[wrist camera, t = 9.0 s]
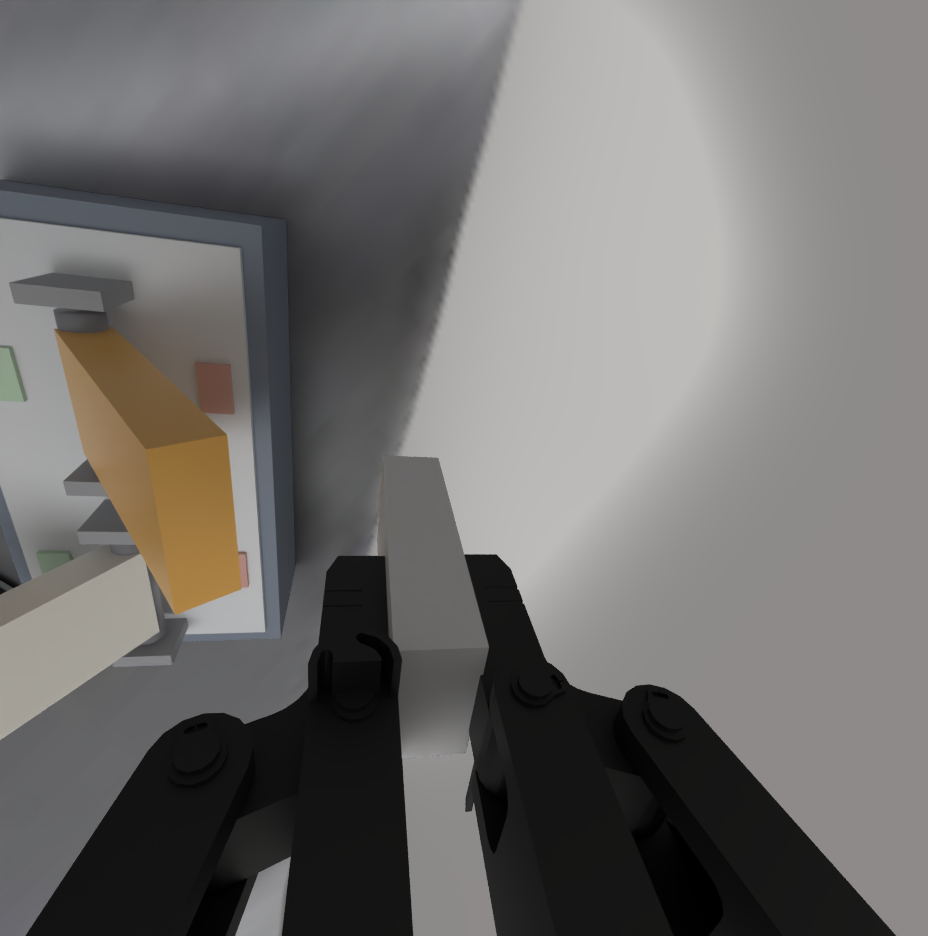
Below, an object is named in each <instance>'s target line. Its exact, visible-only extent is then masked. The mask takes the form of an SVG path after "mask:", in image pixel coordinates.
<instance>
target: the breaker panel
mask: <svg viewBox="0 0 928 936" xmlns="http://www.w3.org/2000/svg"><path fill="white" fill-rule="evenodd" d="M56 308H67V309H77V310H88V311H98V312H105V311H106V313H107V318H108V323H109V327H113V328H114V329H115V330H116V331H117V332H118V333H120V334H121V335H122V336H123V337H124V338H125V339H126V340H127V341H128V342H129V343H130V344H131V345H132V346H133V347H134V348H136V349H137V350H138V351H139V352H140V353H141V354H142V355H143V356H144V357H145V358H146V359H147V360H148V361H149V362H150V363H151V364H153V365H154V366H155V367H156V368H157V369H158V370H159V371H160V372H161V373H162V374H163V375H164V376H165V377H166V378H167V379H168V380H170V381H171V382H172V383H173V384H174V385H175V386H176V387H177V388H178V389H179V390H180V391H181V392H182V393H183V394H184V395H186V396H187V397H188V398H189V399H190V400H191V401H192V402H193V403H194V404H195V405H196V406H197V407H198V408H199V409H200V410H201V411H203V412H204V413H205V414H206V415H207V416H208V417H209V418H210V419H211V420H212V421H213V422H214V423H215V424H216V425H217V426H219V427H220V428H221V429H222V430H223V431H224V432H225V433H226V434H227V436H228V447H229V458H230V468H231V479H232V490H233V501H234V512H235V523H236V534H237V544H238V555H239V566H240V577H241V588H242V589H241V590H238V591H236V592H233V593H231V594H228V595H225V596H223V597H220V598H218V599H215V600H213V601H210V602H207V603H205V604H202V605H200V606H197V607H195V608H192V609H189V610H187V611H184V612H182V613H179V614H177V615H175V614H174V612H173V610H172V608H171V607H170V605H169V603H168V601H167V600H166V598H165V596H164V594H163V593H162V591H161V589H160V587H159V590H160V595H161V600H162V606H163V611H164V616H165V621H166V626H167V631H166V633H165V635H164V636H163V637H162V638H161V639H159V640H158V641H156V642H154V643H151V644H146V645H139V646H138V647H136V648H135V649H133V650H132V651H130V652H129V653H127V654H126V655H124V656H123V657H121V658H120V659H118V660H117V661H116V662H114V663H113V667H127V666H152V665H172V664H173V662H174V659H175V657H176V655H177V652H178V650H179V648H180V645H181V643H182V641H212V640H244V639H277V638H281V635H282V630H283V625H284V620H285V615H286V610H287V605H288V600H289V596H290V591H291V586H292V581H293V576H294V571H295V531H294V493H293V456H292V418H291V380H290V342H289V305H288V267H287V229H286V220H285V219H278V218H271V217H263V216H256V215H249V214H242V213H235V212H228V211H221V210H213V209H206V208H199V207H192V206H185V205H178V204H171V203H163V202H156V201H149V200H142V199H135V198H128V197H121V196H114V195H106V194H99V193H92V192H85V191H78V190H71V189H64V188H56V187H49V186H42V185H35V184H28V183H21V182H14V181H6V180H0V526H1V529H2V531H3V534H4V537H5V540H6V543H7V546H8V548H9V551H10V554H11V557H12V560H13V562H14V565H15V568H16V571H17V574H18V576H19V579H20V582H21V584H23V583H26V582H28V581H30V580H32V579H34V578H36V577H38V576H40V575H42V574H44V573H46V572H49V571H51V570H53V569H55V568H57V567H59V566H61V565H63V564H65V563H67V562H69V561H72V560H74V559H76V558H78V557H80V556H82V555H84V554H86V553H88V552H90V551H92V550H94V549H97V548H99V547H101V546H103V545H135V543H134V541H133V539H132V538H131V536H130V534H129V532H128V530H127V529H126V527H125V525H124V523H123V522H122V520H121V518H120V516H119V514H118V513H117V511H116V509H115V507H114V506H113V504H112V502H111V500H110V498H109V497H108V495H107V493H106V491H105V490H104V488H103V486H102V484H101V483H100V481H99V479H98V477H97V475H96V474H95V472H94V470H93V468H92V467H91V466H90V463H89V461H88V459H87V458H86V456H85V454H84V452H83V448H82V443H81V439H80V435H79V431H78V427H77V423H76V419H75V415H74V410H73V406H72V402H71V398H70V394H69V390H68V386H67V382H66V377H65V373H64V369H63V365H62V361H61V357H60V353H59V349H58V344H57V340H56V336H55V332H54V329H57V325H56V320H55V316H54V312H53V310H54V309H56Z"/></svg>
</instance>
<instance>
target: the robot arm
mask: <svg viewBox="0 0 928 936" xmlns="http://www.w3.org/2000/svg"><path fill="white" fill-rule="evenodd" d="M522 601H523V600H522V598H521V595H520V592H519V590H517V584H516V582H515V579H514V577H513V574H512V571H511V569H510V568H509V567H508V566H507V565H506V564H505V563H504V562H503V561H502V560H501V559H500V558H499V557H498V556H497V555H464V553H463V549H462V545H461V541H460V537H459V534H458V530H457V527H456V522H455V519H454V515H453V511H452V508H451V504H450V500H449V496H448V493H447V489H446V485H445V481H444V478H443V474H442V470H441V467H440V463H439V459H438V458H427V457H404V456H383V461H382V477H381V492H380V508H379V523H378V556H338V557H337V558H336V560H335V561H334V563H333V564H332V565H331V567H330V568H329V569H328V571H327V573H326V582H325V592H324V600H323V610H322V617H321V626H320V635H319V644H318V645H317V646H316V647H315V648H314V649H313V652H312V655H311V657H310V660H309V663H308V689H307V690H306V691H305V692H304V693H303V695H302V696H301V697H300V698H299V699H298V700H297V701H295V702H294V703H292V704H291V705H290V706H288V707H287V708H285V709H283V710H281V711H279V712H277V713H274V714H272V715H269V716H267V717H264V718H261V719H258V720H255V721H253V722H250V723H247V724H244V723H243V722H242V721H241V720H240V719H239V718H236V717H233V716H230V715H228V714H225V713H205V714H201V715H198V716H195V717H192V718H189V719H186V720H183V721H182V722H180V723H179V724H177V725H176V726H174V727H173V728H171V729H170V730H168V731H166V732H165V733H164V734H163V735H162V736H161V737H160V738H159V739H158V740H157V741H156V742H155V744H154V745H153V746H152V747H151V748H150V749H149V750H148V752H147V753H146V755H145V756H144V758H143V759H142V761H141V762H140V764H139V765H138V767H137V768H136V770H135V771H134V773H133V774H132V776H131V777H130V779H129V780H128V782H127V783H126V785H125V786H124V788H123V789H122V791H121V792H120V794H119V795H118V797H117V798H116V800H115V801H114V803H113V804H112V806H111V807H110V809H109V810H108V812H107V813H106V815H105V817H104V818H103V820H102V821H101V823H100V824H99V826H98V827H97V829H96V830H95V832H94V833H93V835H92V836H91V838H90V839H89V841H88V842H87V844H86V845H85V847H84V848H83V850H82V851H81V853H80V854H79V856H78V857H77V859H76V860H75V862H74V863H73V865H72V866H71V868H70V869H69V871H68V872H67V874H66V875H65V877H64V878H63V880H62V881H61V883H60V884H59V886H58V887H57V889H56V890H55V892H54V893H53V895H52V897H51V898H50V900H49V901H48V903H47V904H46V906H45V907H44V909H43V910H42V912H41V913H40V915H39V916H38V918H37V919H36V921H35V922H34V924H33V925H32V927H31V928H30V930H29V931H28V933H27V934H26V936H235V934H236V932H237V929H238V926H239V923H240V921H241V918H242V915H243V913H244V910H245V907H246V905H247V902H248V899H249V896H250V894H251V891H252V888H253V886H254V883H255V880H256V878H257V875H258V872H260V871H262V870H264V869H266V868H268V867H270V866H272V865H274V864H276V863H278V862H280V861H282V860H284V859H286V858H288V857H290V856H291V861H290V869H289V878H288V887H287V895H286V904H285V913H284V921H283V930H282V936H413V926H412V910H411V894H410V878H409V862H408V846H407V830H406V814H405V798H404V784H403V766H402V759H405V758H416V757H428V756H440V755H452V754H463V753H466V750H467V746H468V741H469V736H470V740H471V746H472V751H473V756H474V765H473V769H472V773H471V778H470V782H469V786H468V791H467V795H466V809H465V811H466V812H468V811H472V807H473V803H474V804H475V811H476V816H477V822H478V828H479V834H480V840H481V846H482V851H483V857H484V863H485V868H486V874H487V880H488V886H489V892H490V898H491V903H492V909H493V915H494V921H495V927H496V933H497V936H896V935H895V934H894V933H893V932H892V931H891V929H889V927H888V926H887V925H886V924H885V923H884V922H883V921H882V919H881V918H880V917H879V916H878V915H877V914H876V913H875V911H874V910H873V909H872V908H871V907H870V906H869V905H868V904H867V903H866V901H865V900H864V899H863V898H862V897H861V896H860V895H859V894H858V893H857V891H856V890H855V889H854V888H853V887H852V886H851V885H850V883H849V882H848V881H847V880H846V879H845V878H844V877H843V876H842V874H841V873H840V872H839V871H838V870H837V869H836V868H835V867H834V866H833V864H832V863H831V862H830V861H829V860H828V859H827V858H826V856H825V855H824V854H823V853H822V852H821V851H820V850H819V849H818V847H817V846H816V845H815V844H814V843H813V842H812V841H811V840H810V838H809V837H808V836H807V835H806V834H805V833H804V832H803V831H802V829H801V828H800V827H799V826H798V825H797V824H796V823H795V822H794V821H793V819H792V818H791V817H790V816H789V815H788V814H787V813H786V812H785V810H784V809H783V808H782V807H781V806H780V805H779V804H778V803H777V801H776V800H775V799H774V798H773V797H772V796H771V795H770V794H769V792H768V791H767V790H766V789H765V788H764V787H763V786H762V785H761V783H760V782H759V781H758V780H757V779H756V778H755V777H754V776H753V774H752V773H751V772H750V771H749V770H748V769H747V768H746V767H745V765H744V764H743V763H742V762H741V761H740V760H739V759H738V758H737V757H736V755H735V754H734V753H733V752H732V751H731V750H730V749H729V747H728V746H727V745H726V744H725V743H724V742H723V741H722V740H721V738H720V737H719V736H718V735H717V734H716V733H715V732H714V731H713V730H712V728H711V727H710V726H709V725H708V724H707V723H706V722H705V721H704V719H703V718H702V717H701V716H700V715H699V714H698V713H697V712H696V710H695V709H694V708H693V707H691V706H690V705H689V704H688V703H687V702H686V701H685V700H684V699H682V698H681V697H680V696H678V695H677V694H675V693H673V692H671V691H669V690H667V689H665V688H662V687H658V686H654V685H639V686H635V687H634V688H632V689H631V690H629V691H628V692H627V693H626V695H625V697H624V699H623V701H621V700H617V699H613V698H608V697H604V696H600V695H596V694H592V693H588V692H585V691H582V690H580V689H577V688H575V687H573V686H572V685H570V684H569V683H568V681H567V679H566V678H565V676H564V675H563V673H561V672H560V671H559V670H558V669H557V668H555V667H554V666H553V665H552V664H550V663H548V662H547V661H546V659H545V657H544V655H543V652H542V650H541V647H540V644H539V642H538V639H537V636H536V634H535V631H534V629H533V626H532V624H531V621H530V618H529V616H528V613H527V610H526V608H525V605H524V604H523V602H522Z"/></svg>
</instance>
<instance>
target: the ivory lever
mask: <svg viewBox="0 0 928 936" xmlns="http://www.w3.org/2000/svg"><path fill="white" fill-rule="evenodd" d="M166 631H167V626H166V621H165V616H164V611H163V606H162V600H161V595H160V590H159V585H158V584H157V582H156V580H155V578H154V577H153V575H152V573H151V571H150V569H149V568H148V566H147V564H146V562H145V561H144V559H143V557H142V555H141V553H140V552H139V550H138V548H137V546H136V545H103V546H101V547H99V548H97V549H94V550H92V551H90V552H88V553H86V554H84V555H82V556H80V557H78V558H76V559H74V560H72V561H69V562H67V563H65V564H63V565H61V566H59V567H57V568H55V569H53V570H51V571H49V572H46V573H44V574H42V575H40V576H38V577H36V578H34V579H32V580H30V581H28V582H26V583H23V584H21V585H19V586H17V587H15V588H13V589H11V590H9V591H7V592H5V593H3V594H0V740H1V739H3V738H4V737H6V736H7V735H9V734H10V733H11V732H13V731H14V730H16V729H17V728H19V727H20V726H22V725H23V724H25V723H26V722H28V721H29V720H31V719H32V718H33V717H35V716H36V715H38V714H39V713H41V712H42V711H44V710H45V709H47V708H48V707H50V706H51V705H52V704H54V703H55V702H57V701H58V700H60V699H61V698H63V697H64V696H66V695H67V694H69V693H70V692H72V691H73V690H74V689H76V688H77V687H79V686H80V685H82V684H83V683H85V682H86V681H88V680H89V679H91V678H92V677H94V676H95V675H96V674H98V673H99V672H101V671H102V670H104V669H105V668H107V667H108V666H110V665H111V664H113V663H114V662H116V661H117V660H118V659H120V658H121V657H123V656H124V655H126V654H127V653H129V652H130V651H132V650H133V649H135V648H136V647H138V646H139V645H146V644H151V643H154V642H156V641H158V640H159V639H161V638H162V637H163V636H164V635H165V633H166Z"/></svg>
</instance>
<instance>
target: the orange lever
mask: <svg viewBox="0 0 928 936" xmlns="http://www.w3.org/2000/svg"><path fill="white" fill-rule="evenodd" d="M53 312H54V316H55V320H56V325H57V329H54V332H55V336H56V340H57V344H58V349H59V353H60V357H61V361H62V365H63V369H64V373H65V377H66V382H67V386H68V390H69V394H70V398H71V402H72V406H73V410H74V415H75V419H76V423H77V427H78V431H79V435H80V439H81V443H82V448H83V452H84V454H85V456H86V458H87V459H88V461H89V463H90V466H91V467H92V468H93V470H94V472H95V474H96V475H97V477H98V479H99V481H100V483H101V484H102V486H103V488H104V490H105V491H106V493H107V495H108V497H109V498H110V500H111V502H112V504H113V506H114V507H115V509H116V511H117V513H118V514H119V516H120V518H121V520H122V522H123V523H124V525H125V527H126V529H127V530H128V532H129V534H130V536H131V538H132V539H133V541H134V543H135V545H136V546H137V548H138V550H139V552H140V553H141V555H142V557H143V559H144V561H145V562H146V564H147V566H148V568H149V569H150V571H151V573H152V575H153V577H154V578H155V580H156V582H157V584H158V585H159V587H160V589H161V591H162V593H163V594H164V596H165V598H166V600H167V601H168V603H169V605H170V607H171V608H172V610H173V612H174V614H175V615H177V614H179V613H182V612H184V611H187V610H189V609H192V608H195V607H197V606H200V605H202V604H205V603H207V602H210V601H213V600H215V599H218V598H220V597H223V596H225V595H228V594H231V593H233V592H236V591H238V590H241V589H242V588H241V577H240V566H239V555H238V544H237V534H236V523H235V512H234V501H233V490H232V479H231V468H230V458H229V447H228V436H227V434H226V433H225V432H224V431H223V430H222V429H221V428H220V427H219V426H217V425H216V424H215V423H214V422H213V421H212V420H211V419H210V418H209V417H208V416H207V415H206V414H205V413H204V412H203V411H201V410H200V409H199V408H198V407H197V406H196V405H195V404H194V403H193V402H192V401H191V400H190V399H189V398H188V397H187V396H186V395H184V394H183V393H182V392H181V391H180V390H179V389H178V388H177V387H176V386H175V385H174V384H173V383H172V382H171V381H170V380H168V379H167V378H166V377H165V376H164V375H163V374H162V373H161V372H160V371H159V370H158V369H157V368H156V367H155V366H154V365H153V364H151V363H150V362H149V361H148V360H147V359H146V358H145V357H144V356H143V355H142V354H141V353H140V352H139V351H138V350H137V349H136V348H134V347H133V346H132V345H131V344H130V343H129V342H128V341H127V340H126V339H125V338H124V337H123V336H122V335H121V334H120V333H118V332H117V331H116V330H115V329H114V328H113V327H109V323H108V318H107V313H106V311H105V312H98V311H88V310H77V309H67V308H56V309H54V310H53Z"/></svg>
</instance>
